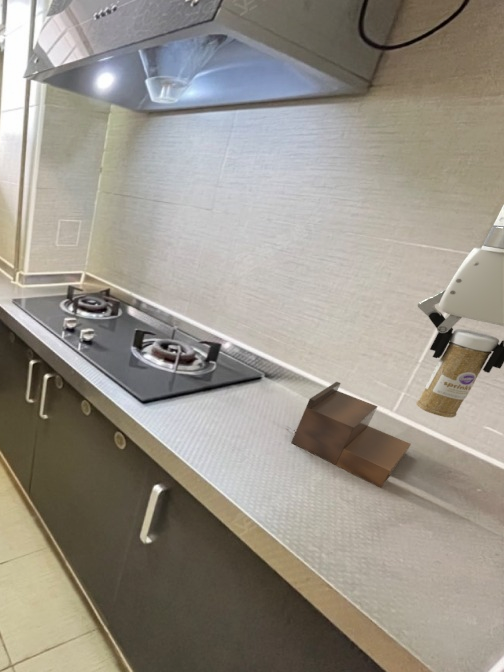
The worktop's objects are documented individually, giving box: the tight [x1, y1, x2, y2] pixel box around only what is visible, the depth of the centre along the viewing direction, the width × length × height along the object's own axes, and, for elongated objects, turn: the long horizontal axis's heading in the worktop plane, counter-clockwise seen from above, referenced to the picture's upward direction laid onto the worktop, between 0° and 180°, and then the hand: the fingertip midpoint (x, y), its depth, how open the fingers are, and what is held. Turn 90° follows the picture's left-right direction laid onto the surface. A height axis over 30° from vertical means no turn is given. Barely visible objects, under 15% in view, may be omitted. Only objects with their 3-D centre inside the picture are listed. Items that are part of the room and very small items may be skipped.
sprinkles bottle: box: [416, 328, 500, 419], centre depth 60 cm, size 5×5×13 cm
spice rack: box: [290, 381, 412, 489], centre depth 81 cm, size 15×16×11 cm
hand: (461, 361), depth 60 cm, fingers closed on sprinkles bottle, 4 cm apart
